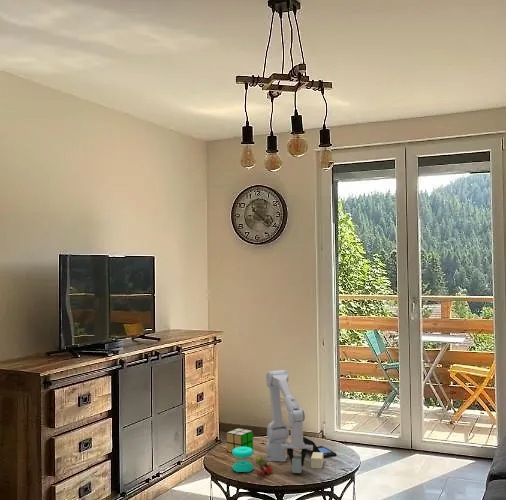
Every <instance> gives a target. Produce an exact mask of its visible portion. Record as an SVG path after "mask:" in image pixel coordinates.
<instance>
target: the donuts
mask: <svg viewBox="0 0 506 500" xmlns="http://www.w3.org/2000/svg"><path fill="white" fill-rule="evenodd" d="M231 454H232V456H233V457H235V458H236V459H248V458H250V457H252V456H253V454H254V448H253V449H252V448H250V447H237V448H234V449H233V451H232V453H231ZM253 470H254V464H253V463H252V462H251V461H249V460H238V461H236V462H234V463H233V465H232V471H234V472H235V471H236V472H235V473H238V472H247V473H249V472H252V471H253Z"/></svg>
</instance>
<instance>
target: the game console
mask: <svg viewBox="0 0 506 500" xmlns="http://www.w3.org/2000/svg"><path fill="white" fill-rule="evenodd" d="M303 444H307V445H313V450H307V452H309V453H311V454H313V452H323V456H324V459H325V458H326V457H327V458H331V457H332V456H333V457H336V456H337V452H334V451H333V450H331V449H330V448H327V447H326V446H323V445H318V446H317V444H316V443H315V442H314V441H313V440H311V439H309V438H307V437H305V436H303Z"/></svg>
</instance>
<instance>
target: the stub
mask: <svg viewBox="0 0 506 500" xmlns="http://www.w3.org/2000/svg"><path fill="white" fill-rule="evenodd" d="M291 469H292V471H291V473H293V474H301V473H302V471H303V469H304V465H303V466H302V456H301V453H300V454H298V453H293V458H292V464H291Z"/></svg>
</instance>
